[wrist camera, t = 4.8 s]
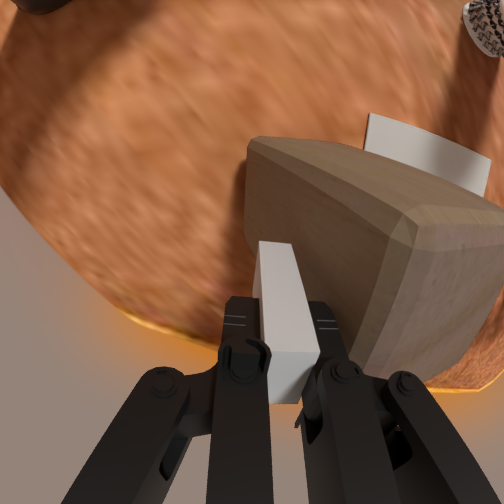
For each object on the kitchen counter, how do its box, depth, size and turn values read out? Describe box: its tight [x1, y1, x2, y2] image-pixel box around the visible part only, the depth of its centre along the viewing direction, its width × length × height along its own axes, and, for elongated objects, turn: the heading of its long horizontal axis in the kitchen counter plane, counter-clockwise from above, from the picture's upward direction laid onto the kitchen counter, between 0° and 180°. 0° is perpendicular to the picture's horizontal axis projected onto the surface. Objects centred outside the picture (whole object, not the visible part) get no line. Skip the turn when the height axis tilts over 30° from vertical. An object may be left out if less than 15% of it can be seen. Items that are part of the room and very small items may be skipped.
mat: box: [364, 113, 491, 197], centre depth 28 cm, size 18×20×1 cm
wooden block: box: [243, 136, 504, 383], centre depth 18 cm, size 10×10×20 cm
